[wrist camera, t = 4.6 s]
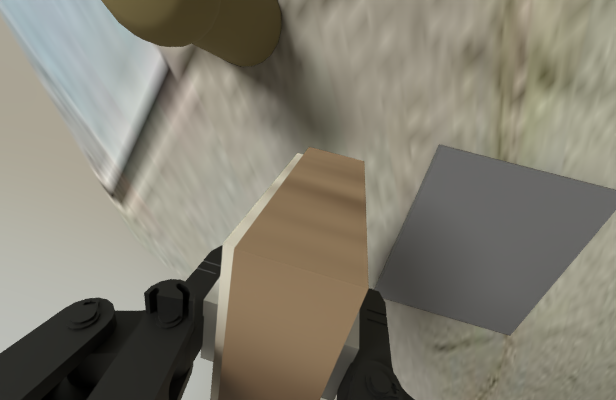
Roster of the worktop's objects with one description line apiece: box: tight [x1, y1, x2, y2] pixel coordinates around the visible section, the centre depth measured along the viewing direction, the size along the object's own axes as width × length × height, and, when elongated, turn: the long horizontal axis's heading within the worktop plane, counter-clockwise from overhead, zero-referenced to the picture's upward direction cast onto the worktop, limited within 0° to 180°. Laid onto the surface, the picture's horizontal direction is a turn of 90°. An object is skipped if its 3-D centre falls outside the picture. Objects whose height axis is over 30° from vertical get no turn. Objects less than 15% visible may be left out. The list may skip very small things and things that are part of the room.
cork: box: [101, 0, 281, 66], centre depth 15 cm, size 6×6×11 cm
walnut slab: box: [210, 147, 369, 400], centre depth 10 cm, size 9×3×8 cm, turn 167°
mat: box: [374, 145, 616, 335], centre depth 24 cm, size 16×14×1 cm
